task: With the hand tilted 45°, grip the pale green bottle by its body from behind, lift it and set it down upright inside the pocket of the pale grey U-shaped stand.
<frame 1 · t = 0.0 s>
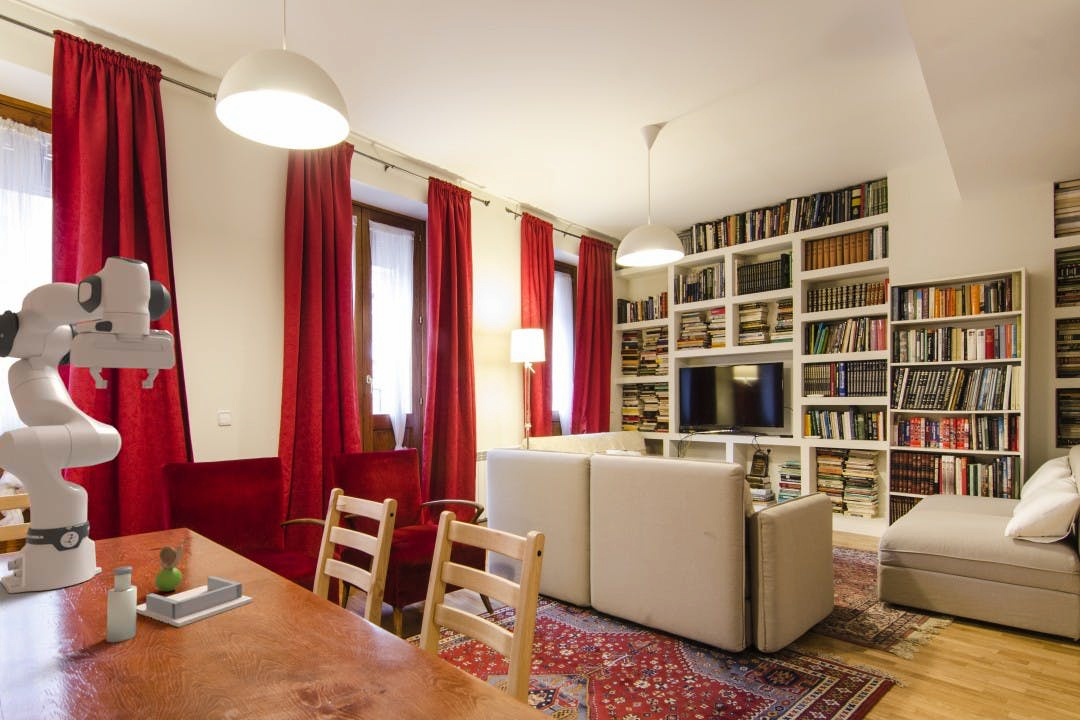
hand: (125, 388, 133), 48 cm above the table, tool pointing down, fingers open, 8 cm apart
pale green bottle: (121, 637, 113), on the table
u stand: (193, 606, 129), on the table
snail figurine: (170, 591, 139), on the table
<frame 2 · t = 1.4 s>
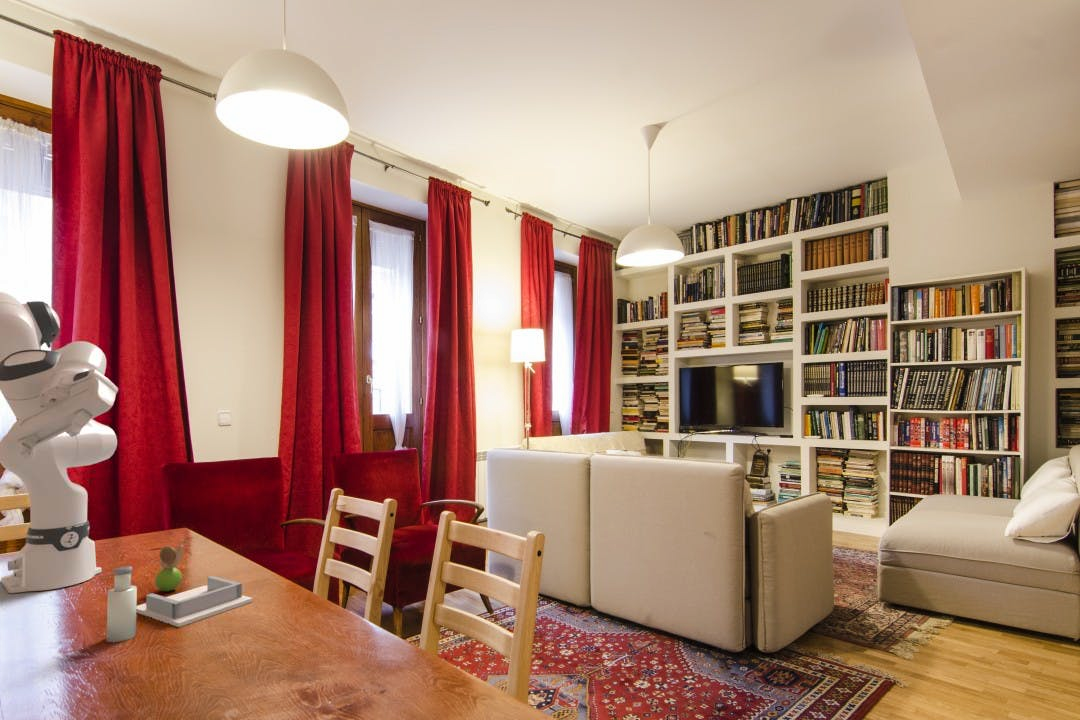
hand: (48, 444, 109), 37 cm above the table, tool tilted 50°, fingers open, 8 cm apart
nothing on the table moved.
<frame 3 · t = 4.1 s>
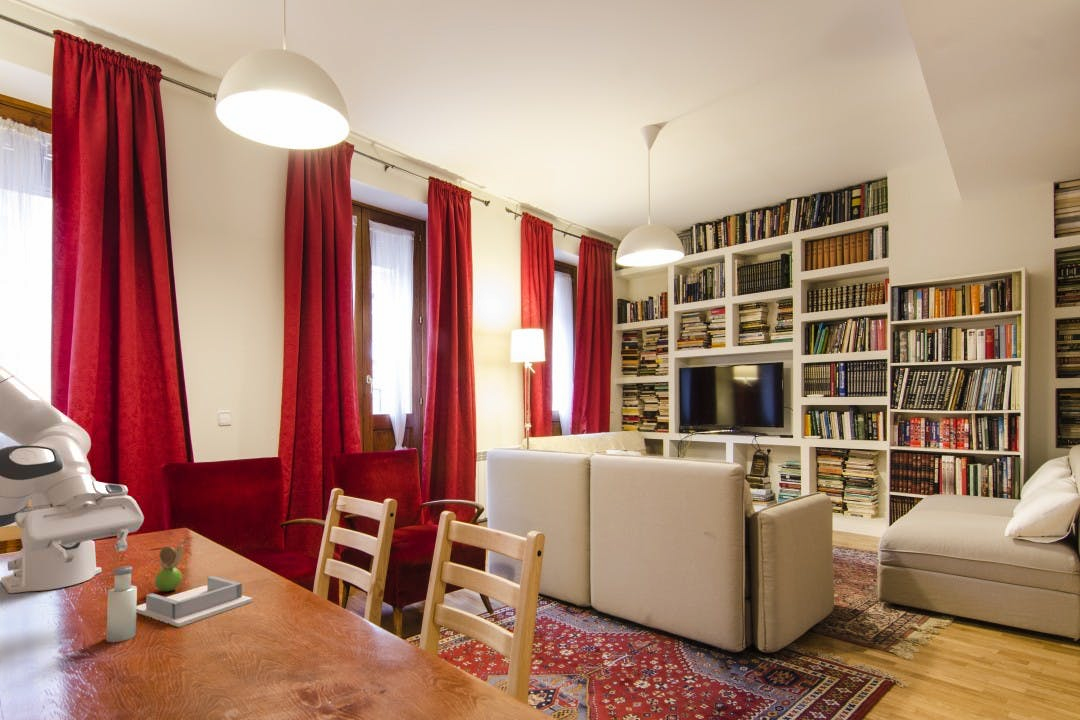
hand: (96, 554, 118), 15 cm above the table, tool tilted 45°, fingers open, 8 cm apart
nothing on the table moved.
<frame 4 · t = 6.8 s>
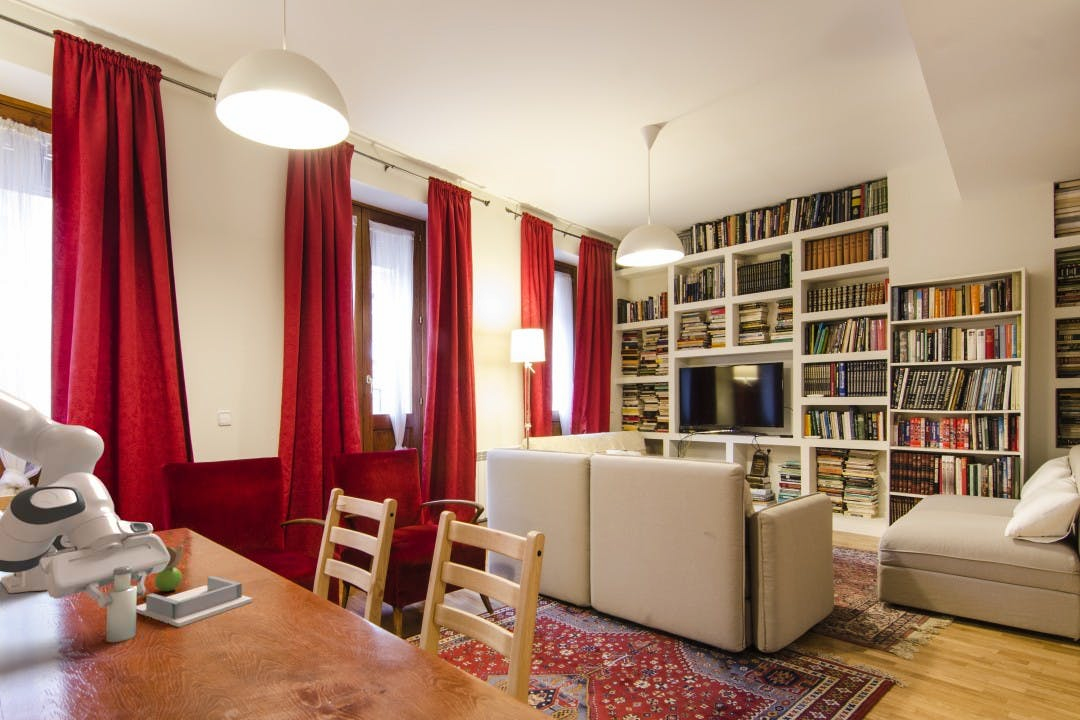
hand: (123, 599, 113), 7 cm above the table, tool tilted 45°, fingers closed on pale green bottle, 5 cm apart
pale green bottle: (121, 637, 113), on the table, touching gripper
everything else where it was.
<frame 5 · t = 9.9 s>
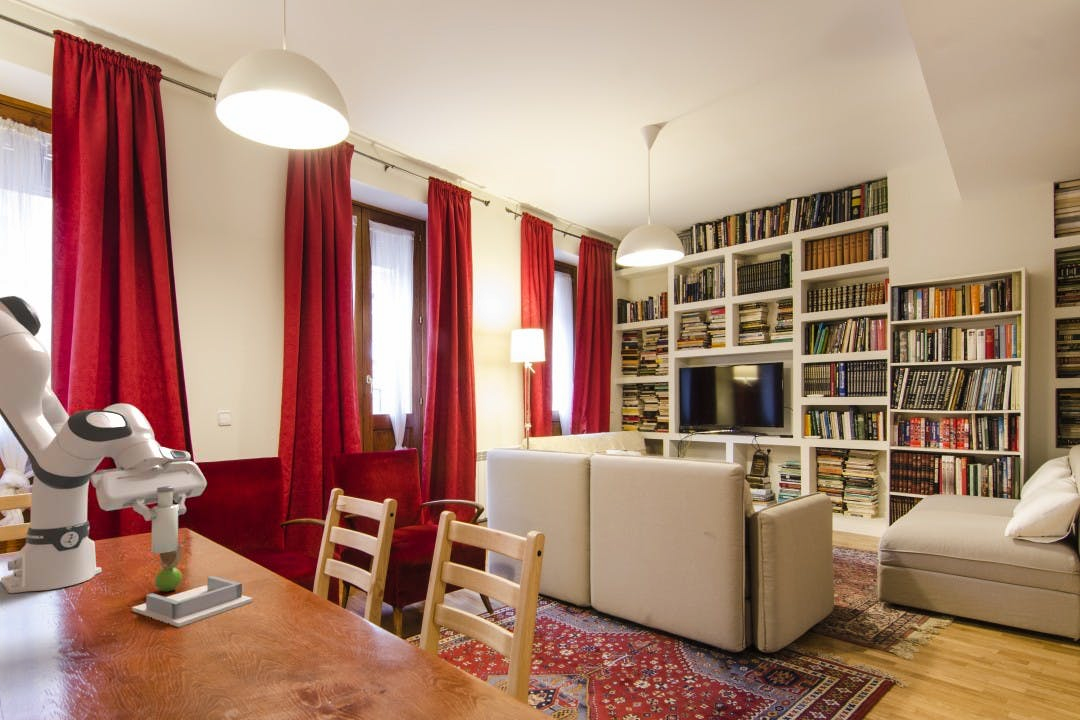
hand: (167, 515, 123), 21 cm above the table, tool tilted 45°, fingers closed on pale green bottle, 5 cm apart
pale green bottle: (164, 550, 123), point 14 cm above the table, touching gripper
everything else where it was.
when the fingers open (9 cm above the table, at t = 13.2 s): pale green bottle drops 1 cm, resting on u stand.
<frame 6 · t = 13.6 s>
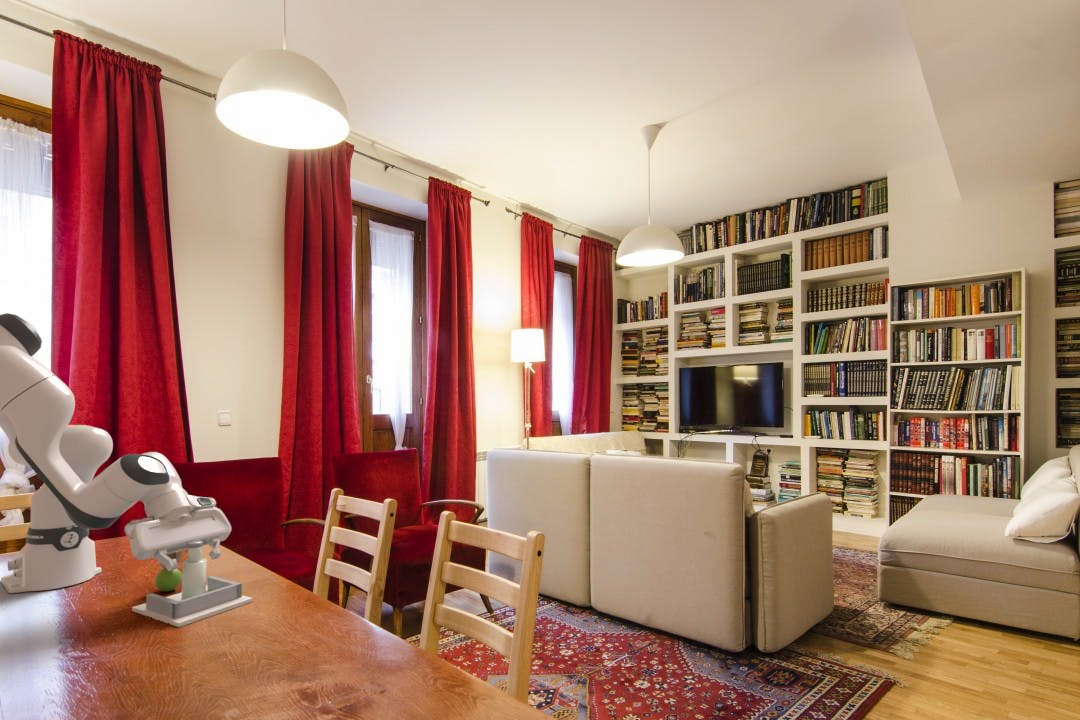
hand: (195, 562, 129), 9 cm above the table, tool tilted 45°, fingers open, 8 cm apart
pale green bottle: (193, 602, 129), point 1 cm above the table, touching u stand
everything else where it was.
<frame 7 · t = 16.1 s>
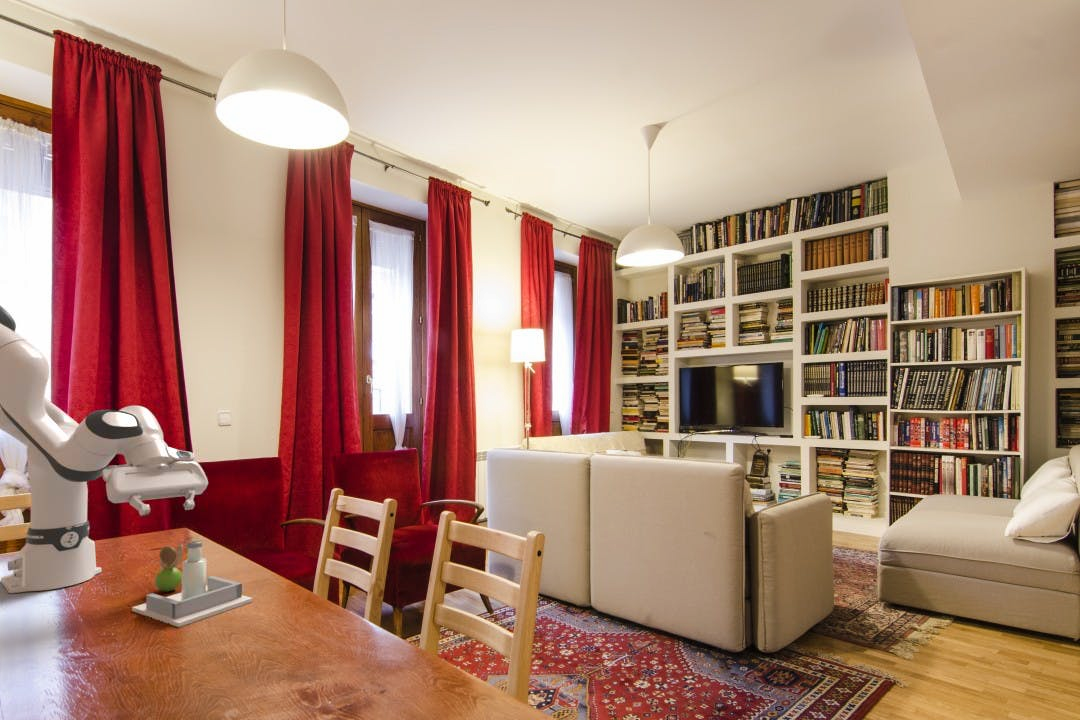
hand: (168, 510, 132), 20 cm above the table, tool tilted 45°, fingers open, 8 cm apart
nothing on the table moved.
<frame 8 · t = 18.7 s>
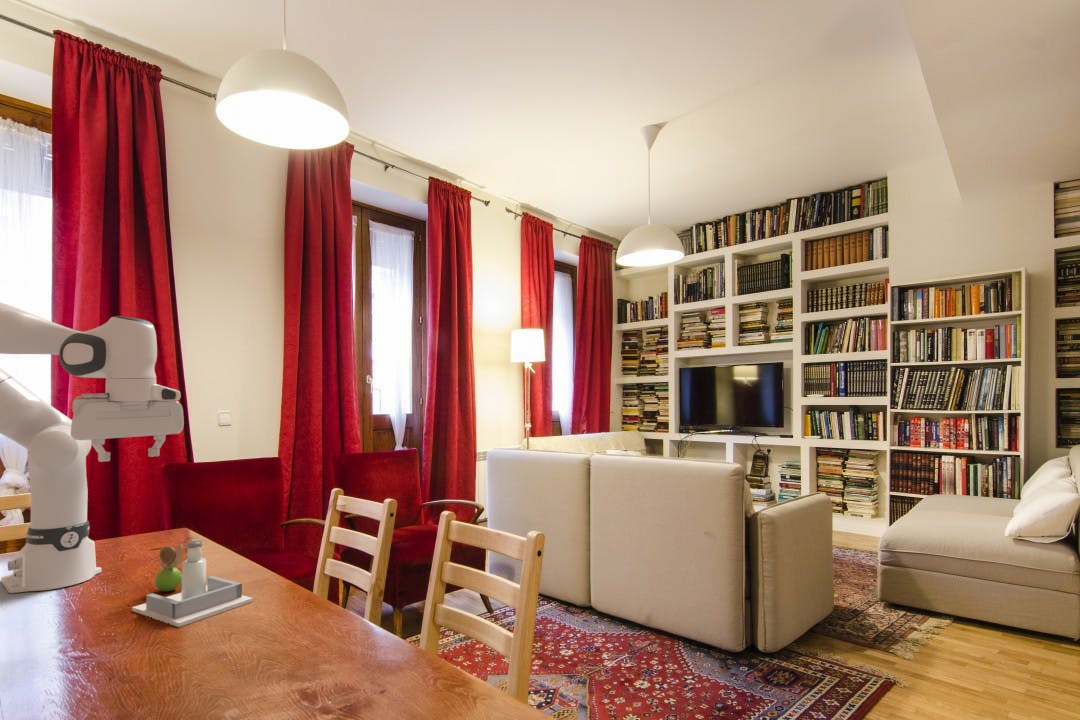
hand: (129, 458, 124), 33 cm above the table, tool pointing down, fingers open, 8 cm apart
nothing on the table moved.
at the end: pale green bottle inside the target area on the u stand (0.0 cm from its centre), point 0.8 cm above the u stand's base; pale green bottle tilted 0°; the gripper is holding nothing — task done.
